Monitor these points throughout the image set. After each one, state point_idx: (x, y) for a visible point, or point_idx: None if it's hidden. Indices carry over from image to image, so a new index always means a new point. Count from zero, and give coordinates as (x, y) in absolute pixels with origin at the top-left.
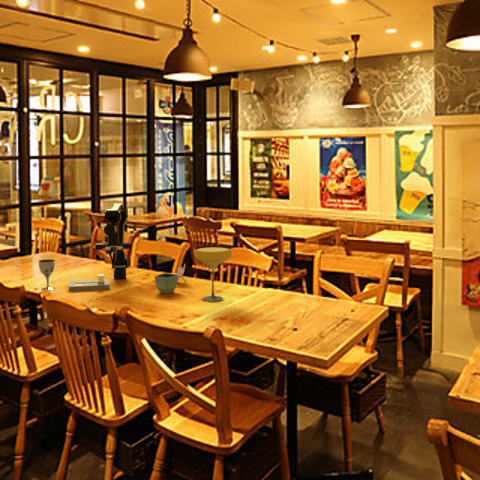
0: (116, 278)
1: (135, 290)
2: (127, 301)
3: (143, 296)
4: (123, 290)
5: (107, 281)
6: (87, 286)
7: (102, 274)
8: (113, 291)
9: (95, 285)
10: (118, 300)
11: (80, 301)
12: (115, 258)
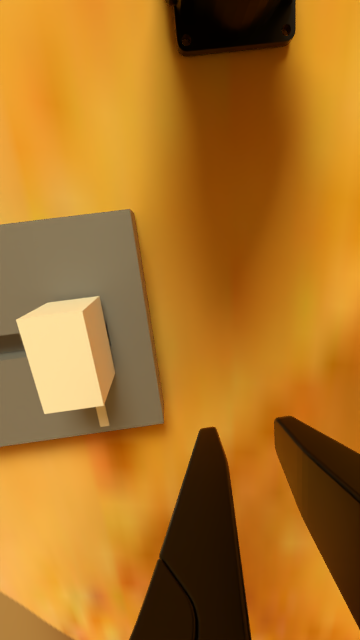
0: (193, 25)
1: None
2: (266, 610)
3: None
4: (252, 433)
5: (135, 317)
6: (7, 442)
7: (77, 351)
8: None
9: (63, 437)
10: None
11: (49, 610)
12: (316, 508)
